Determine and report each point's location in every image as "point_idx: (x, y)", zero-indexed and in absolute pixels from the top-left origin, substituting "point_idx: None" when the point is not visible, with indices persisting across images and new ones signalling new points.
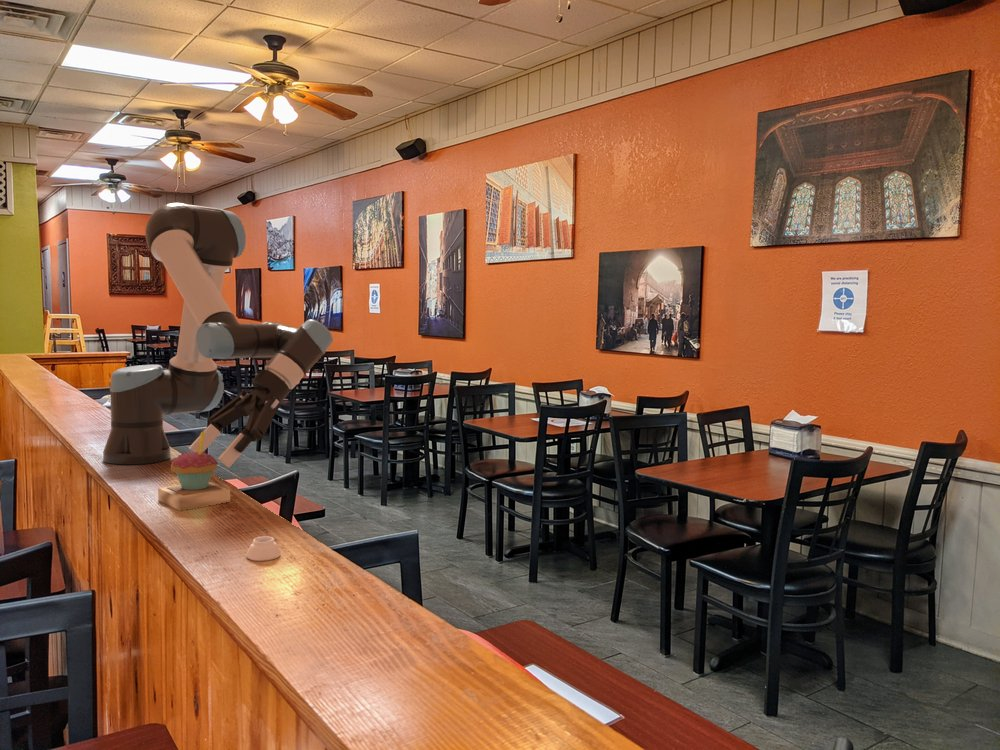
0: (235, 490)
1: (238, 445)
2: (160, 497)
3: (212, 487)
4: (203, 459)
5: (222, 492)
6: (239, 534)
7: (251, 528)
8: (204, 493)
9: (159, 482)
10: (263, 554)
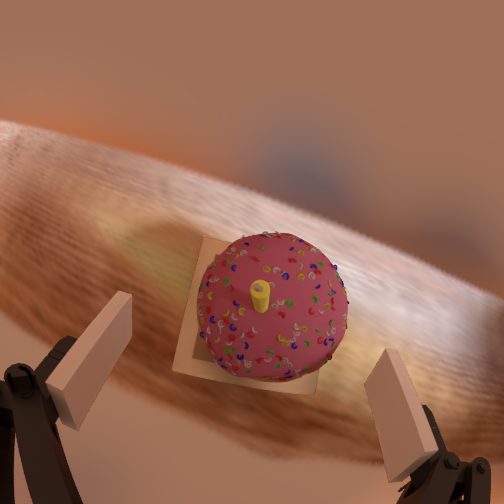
0: (272, 453)
1: (61, 347)
2: None
3: None
4: (214, 295)
5: (176, 348)
6: (16, 221)
7: (16, 253)
8: (192, 301)
9: (450, 360)
10: None
